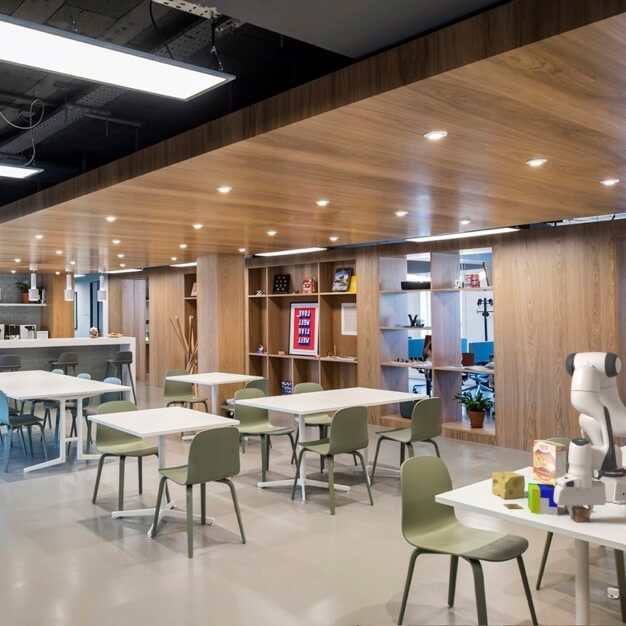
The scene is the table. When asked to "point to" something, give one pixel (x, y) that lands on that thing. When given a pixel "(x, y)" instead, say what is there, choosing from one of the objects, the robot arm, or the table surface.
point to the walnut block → (580, 514)
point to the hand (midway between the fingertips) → (579, 516)
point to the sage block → (572, 505)
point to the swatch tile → (512, 506)
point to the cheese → (508, 485)
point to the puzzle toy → (542, 499)
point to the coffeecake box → (548, 461)
